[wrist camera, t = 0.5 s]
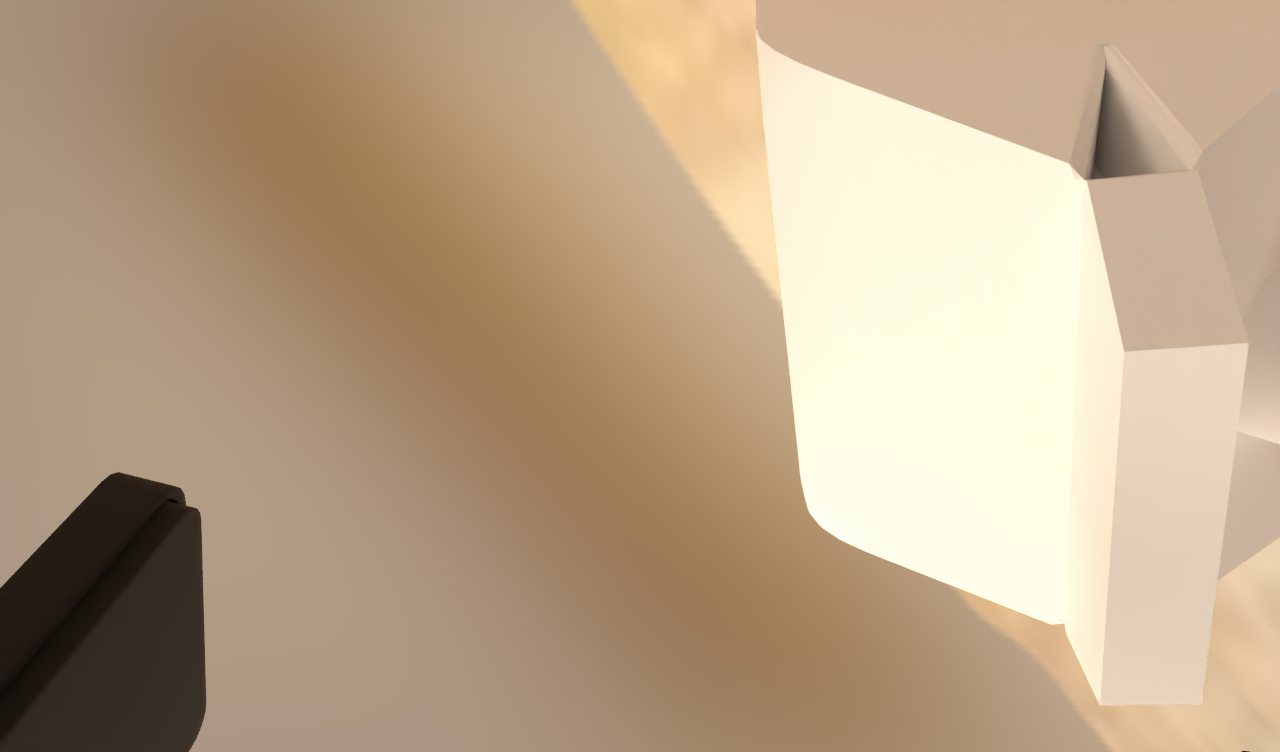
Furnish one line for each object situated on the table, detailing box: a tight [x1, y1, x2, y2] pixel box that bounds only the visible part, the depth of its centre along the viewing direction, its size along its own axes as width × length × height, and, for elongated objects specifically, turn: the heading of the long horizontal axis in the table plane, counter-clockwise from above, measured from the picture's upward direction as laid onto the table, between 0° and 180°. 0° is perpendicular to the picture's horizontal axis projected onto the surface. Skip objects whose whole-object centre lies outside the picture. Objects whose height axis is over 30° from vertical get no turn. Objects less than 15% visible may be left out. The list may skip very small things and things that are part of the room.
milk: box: [756, 0, 1280, 706], centre depth 25 cm, size 12×12×26 cm
